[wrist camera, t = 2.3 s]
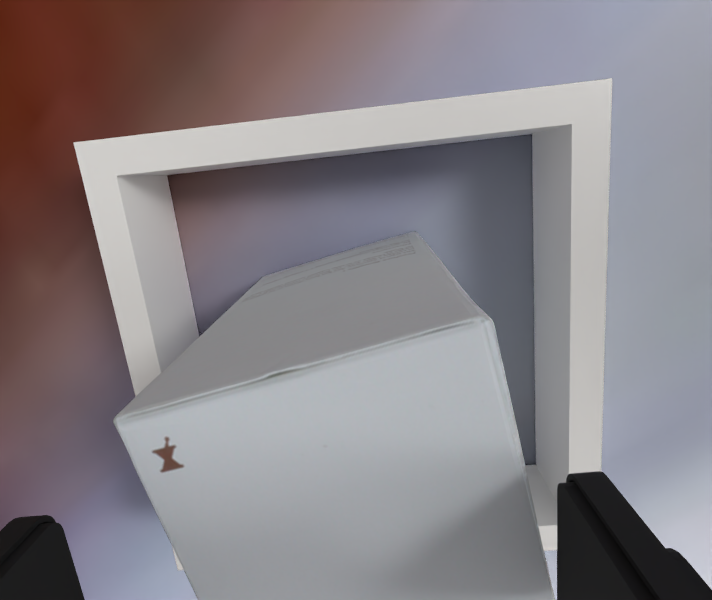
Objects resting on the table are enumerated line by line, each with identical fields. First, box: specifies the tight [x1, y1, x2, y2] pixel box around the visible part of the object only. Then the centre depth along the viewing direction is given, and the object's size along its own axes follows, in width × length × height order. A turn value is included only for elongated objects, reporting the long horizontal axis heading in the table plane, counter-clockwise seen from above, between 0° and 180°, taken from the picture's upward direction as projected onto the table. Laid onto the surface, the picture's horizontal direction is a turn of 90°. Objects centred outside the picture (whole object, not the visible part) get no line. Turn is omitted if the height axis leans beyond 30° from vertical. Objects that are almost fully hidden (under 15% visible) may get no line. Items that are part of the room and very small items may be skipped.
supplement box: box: [113, 231, 555, 600], centre depth 15 cm, size 7×7×13 cm
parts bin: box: [74, 78, 612, 570], centre depth 19 cm, size 17×17×4 cm
